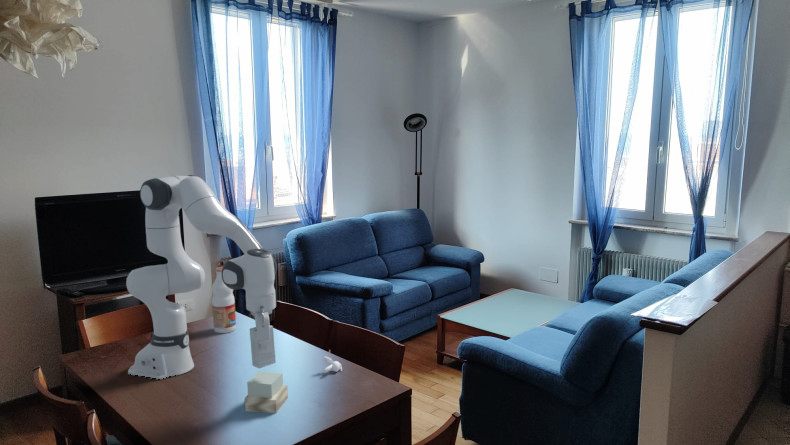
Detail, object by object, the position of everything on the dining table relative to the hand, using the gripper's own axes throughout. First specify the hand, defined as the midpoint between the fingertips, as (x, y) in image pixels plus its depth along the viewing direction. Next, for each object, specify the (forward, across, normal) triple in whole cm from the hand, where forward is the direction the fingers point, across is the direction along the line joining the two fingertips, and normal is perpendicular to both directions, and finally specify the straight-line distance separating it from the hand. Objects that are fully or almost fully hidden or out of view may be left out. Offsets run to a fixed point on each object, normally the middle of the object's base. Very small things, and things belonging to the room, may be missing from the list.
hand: (263, 345), depth 167 cm
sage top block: (+15, 0, 0) cm, 15 cm away
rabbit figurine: (+20, +18, -24) cm, 36 cm away
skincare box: (+6, 0, 0) cm, 6 cm away
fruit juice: (+19, +75, +13) cm, 78 cm away
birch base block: (+20, 0, 0) cm, 20 cm away
